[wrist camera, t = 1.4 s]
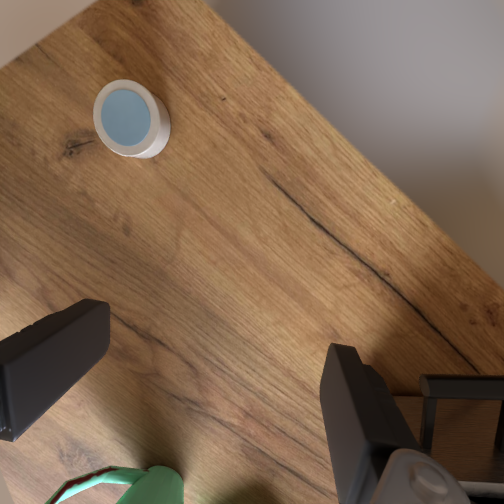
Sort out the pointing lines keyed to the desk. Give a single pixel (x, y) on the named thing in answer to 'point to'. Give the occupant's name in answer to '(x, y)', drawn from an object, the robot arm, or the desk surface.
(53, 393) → the robot arm
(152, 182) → the desk surface
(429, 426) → the drawer
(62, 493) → the mug
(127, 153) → the button
